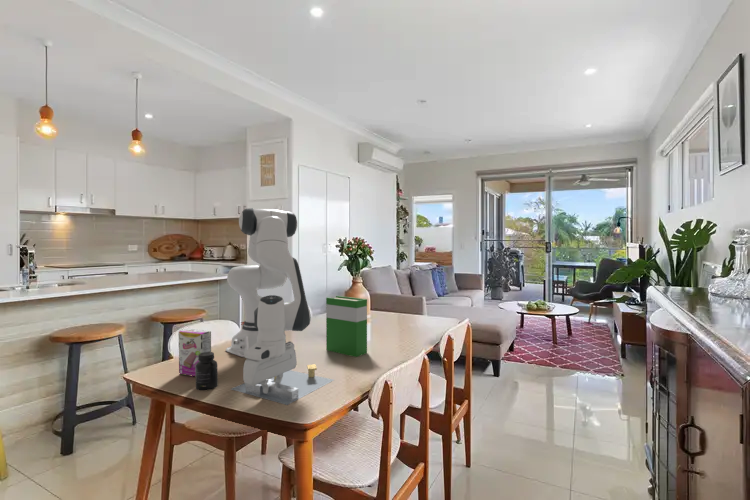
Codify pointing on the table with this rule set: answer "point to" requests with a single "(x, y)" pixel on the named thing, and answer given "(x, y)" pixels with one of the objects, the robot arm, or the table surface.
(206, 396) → the table surface
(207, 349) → the candy bar box
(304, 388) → the board
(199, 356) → the supplement bottle
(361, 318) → the hardback book
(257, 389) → the link
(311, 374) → the keeper
